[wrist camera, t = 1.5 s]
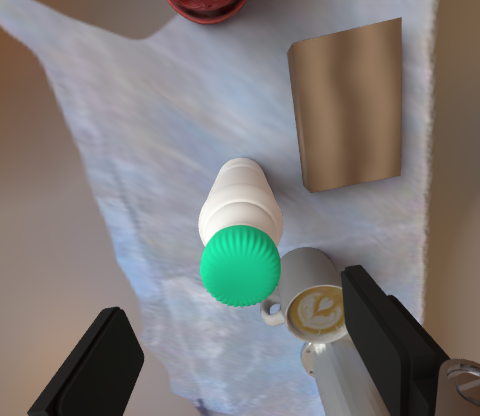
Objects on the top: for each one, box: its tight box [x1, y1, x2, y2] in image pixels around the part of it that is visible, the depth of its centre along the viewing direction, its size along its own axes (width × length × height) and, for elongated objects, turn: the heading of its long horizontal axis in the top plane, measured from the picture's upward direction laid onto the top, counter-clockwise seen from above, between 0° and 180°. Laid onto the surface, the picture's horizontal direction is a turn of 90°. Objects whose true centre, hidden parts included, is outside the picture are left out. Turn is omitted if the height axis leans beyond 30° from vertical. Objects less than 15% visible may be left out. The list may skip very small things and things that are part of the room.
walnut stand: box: [287, 17, 402, 193], centre depth 32 cm, size 12×18×4 cm, turn 12°
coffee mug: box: [260, 248, 348, 344], centre depth 38 cm, size 13×10×10 cm
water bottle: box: [199, 158, 283, 307], centre depth 25 cm, size 7×7×25 cm
